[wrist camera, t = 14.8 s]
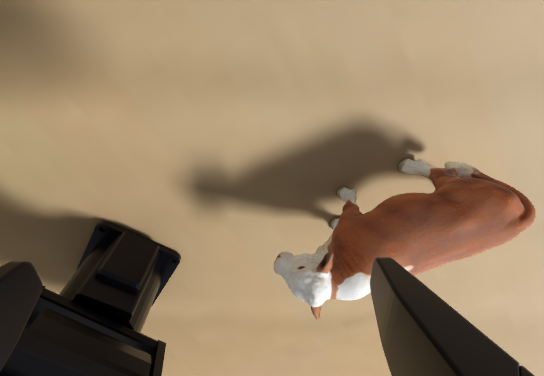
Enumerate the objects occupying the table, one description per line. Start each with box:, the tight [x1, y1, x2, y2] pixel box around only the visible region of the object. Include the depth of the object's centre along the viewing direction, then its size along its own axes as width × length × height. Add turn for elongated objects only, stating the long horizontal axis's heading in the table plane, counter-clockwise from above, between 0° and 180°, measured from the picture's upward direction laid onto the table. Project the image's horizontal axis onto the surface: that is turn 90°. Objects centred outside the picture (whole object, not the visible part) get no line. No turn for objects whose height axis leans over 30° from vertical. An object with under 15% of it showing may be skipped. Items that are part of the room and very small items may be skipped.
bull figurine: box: [274, 159, 535, 320], centre depth 19 cm, size 4×13×8 cm, turn 111°
